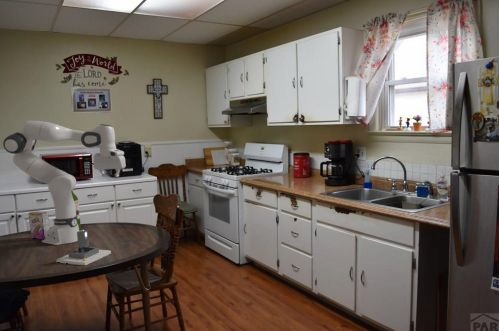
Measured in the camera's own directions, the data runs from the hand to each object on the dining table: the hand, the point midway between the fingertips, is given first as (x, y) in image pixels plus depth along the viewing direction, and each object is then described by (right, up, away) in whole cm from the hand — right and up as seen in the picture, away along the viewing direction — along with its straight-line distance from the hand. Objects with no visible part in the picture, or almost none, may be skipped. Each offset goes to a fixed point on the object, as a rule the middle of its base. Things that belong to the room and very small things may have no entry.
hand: (110, 176), depth 228 cm
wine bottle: (-36, -36, +34) cm, 61 cm away
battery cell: (-4, -39, -27) cm, 48 cm away
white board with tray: (-4, -40, -27) cm, 49 cm away
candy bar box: (-48, -38, +15) cm, 63 cm away
